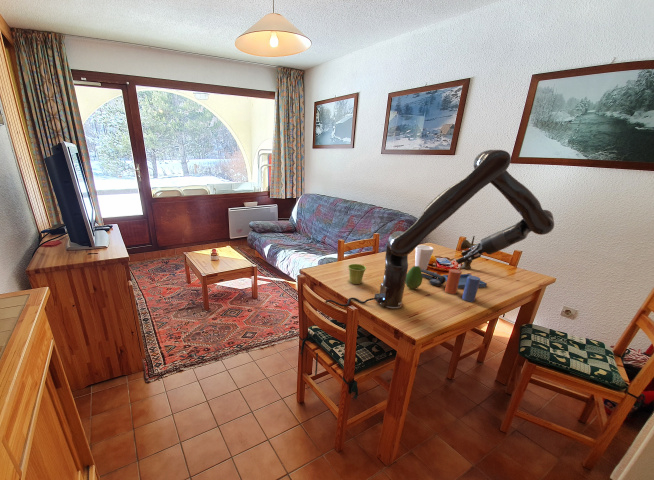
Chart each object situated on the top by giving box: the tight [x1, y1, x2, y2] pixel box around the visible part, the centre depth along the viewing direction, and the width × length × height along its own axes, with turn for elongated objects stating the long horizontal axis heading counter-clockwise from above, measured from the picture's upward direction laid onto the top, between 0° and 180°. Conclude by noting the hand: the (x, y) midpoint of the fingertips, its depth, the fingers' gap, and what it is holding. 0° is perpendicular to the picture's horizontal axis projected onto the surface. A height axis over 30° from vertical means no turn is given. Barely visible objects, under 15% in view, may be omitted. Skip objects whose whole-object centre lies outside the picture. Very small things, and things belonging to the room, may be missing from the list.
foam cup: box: [414, 244, 434, 270], centre depth 182 cm, size 10×9×13 cm
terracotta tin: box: [444, 268, 462, 295], centre depth 152 cm, size 5×5×11 cm
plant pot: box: [347, 263, 367, 285], centre depth 163 cm, size 9×9×9 cm
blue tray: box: [442, 273, 488, 289], centre depth 164 cm, size 16×14×2 cm
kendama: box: [460, 235, 477, 270], centre depth 181 cm, size 6×10×20 cm, turn 28°
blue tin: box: [461, 275, 481, 303], centre depth 144 cm, size 5×5×11 cm
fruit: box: [405, 265, 423, 290], centre depth 155 cm, size 8×8×12 cm
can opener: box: [421, 269, 447, 287], centre depth 165 cm, size 18×7×6 cm, turn 12°
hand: (459, 258), depth 144 cm, fingers open, 8 cm apart
